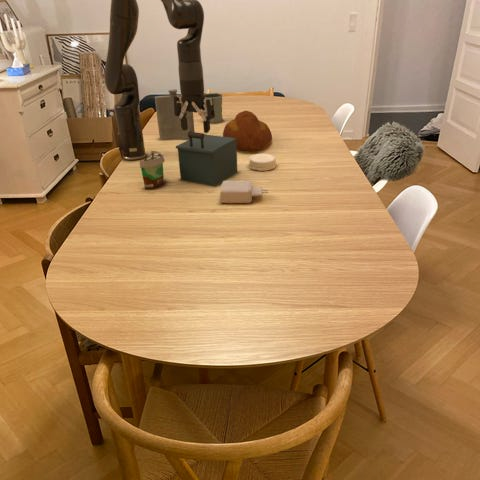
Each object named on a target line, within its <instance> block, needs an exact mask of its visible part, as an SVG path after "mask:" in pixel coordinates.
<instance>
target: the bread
mask: <svg viewBox="0 0 480 480" xmlns="http://www.w3.org/2000/svg"><path fill="white" fill-rule="evenodd" d="M222 137H230V138H236V145H237V150H242V151H245V152H247V151H248V152H255V151H256V152H257V151H259V150H262V149H264V148H265V147H266V146H268V145H270V143H271V142H272V140H273V135H272V131H271V128H270V127H269V125H268V124H267V123H266V122H263V120H259V118H258V116H256V114H254V112H252V111H249V110H242V111H240V112H238V113H237V114H236V115H235V117H234V119H232V120H230V121H228V122H227V123H226V124H225V125H224V128H223V131H222Z"/></svg>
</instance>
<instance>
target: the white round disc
mask: <svg viewBox="0 0 480 480" xmlns="http://www.w3.org/2000/svg"><path fill="white" fill-rule="evenodd" d="M276 160H277V157H276V156H275V155H273V154H270V153H256V154H253V155H251V156H250V157H249V159H248V166H249V168H250V169H251V170H254V171H258V172H264V171H266V172H267V171H271V170H274V169H275V168H276V166H277V164H276V163H277V161H276Z"/></svg>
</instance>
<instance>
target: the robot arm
mask: <svg viewBox="0 0 480 480" xmlns="http://www.w3.org/2000/svg"><path fill="white" fill-rule="evenodd" d="M160 1H161V3H162V5H163V8H164V10H165V13H166V16H167V20H168V22H169V25H170V26H172V28H175V30H187V33H186V35H185V36H184V37H181V38H180V39H178V40H177V43H176V50H177V60H178V78H179V89H180V95H182V97H181V96H180V95H178V96H175V97H174V113H175V116H178V117H179V118H180V119H181V127H182V129H183V130H184V131H185V130H187V129H188V124H187V118H186V116H187V114H188V112H193V114H194V113H195V114H198V115H199V116H200V117H201V119H202V120H203V121H202V124H203V134H208V133H209V132H210V131H211V123H210V119H213V118H215V112H214V103H213V98H210V99H205V98H204V94H205V81H204V68H203V63H202V51H201V50H202V49H201V41H202V36H203V29H204V23H205V11H204V8H203V5H202V4H201V2H200V1H199V0H160ZM139 8H140V7H139V4H138V1H137V0H110V12H109V31H108V32H109V33H108V45H107V53H106V59H105V66H104V73H103V77H104V85H105V88H106V90H107V91H108V92H109V93H110V94H111V95H121V96H120V98H119V100H118V101H116V102H115V104H114V105H113V109H114V116H115V120H116V127H117V132H116V137H117V143H118V144H117V147H118V151H119V155H120V158H122V159H123V160H125V161H138V160H142V159H144V158H146V157H147V154H146V153H147V152H146V147H145V141H144V134H143V127H142V121H141V114H140V103H141V102H140V90H139V81H138V76H137V72H136V71H135V69H134V67H133V66H131V65H130V64H128V63H124V62H125V58H126V55H127V53H128V50H129V49H130V47H131V45H132V44H133V42H134V41H135V38H136V35H137V32H138V27H139V18H140V9H139ZM181 103H183V104H184V106H183V108H182V109H181ZM204 104H205V106H207V109H206V108H205V106H204Z"/></svg>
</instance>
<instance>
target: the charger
mask: <svg viewBox="0 0 480 480" xmlns="http://www.w3.org/2000/svg"><path fill="white" fill-rule="evenodd" d="M269 191H270V190H269V189H263V187H262V186H254V184H253V182H252V181H251V180H224V181H223V182H221V187H220V203H221V204H249V203H251V202H252V201H253V197H260V198H261V197H263V194H269Z"/></svg>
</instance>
